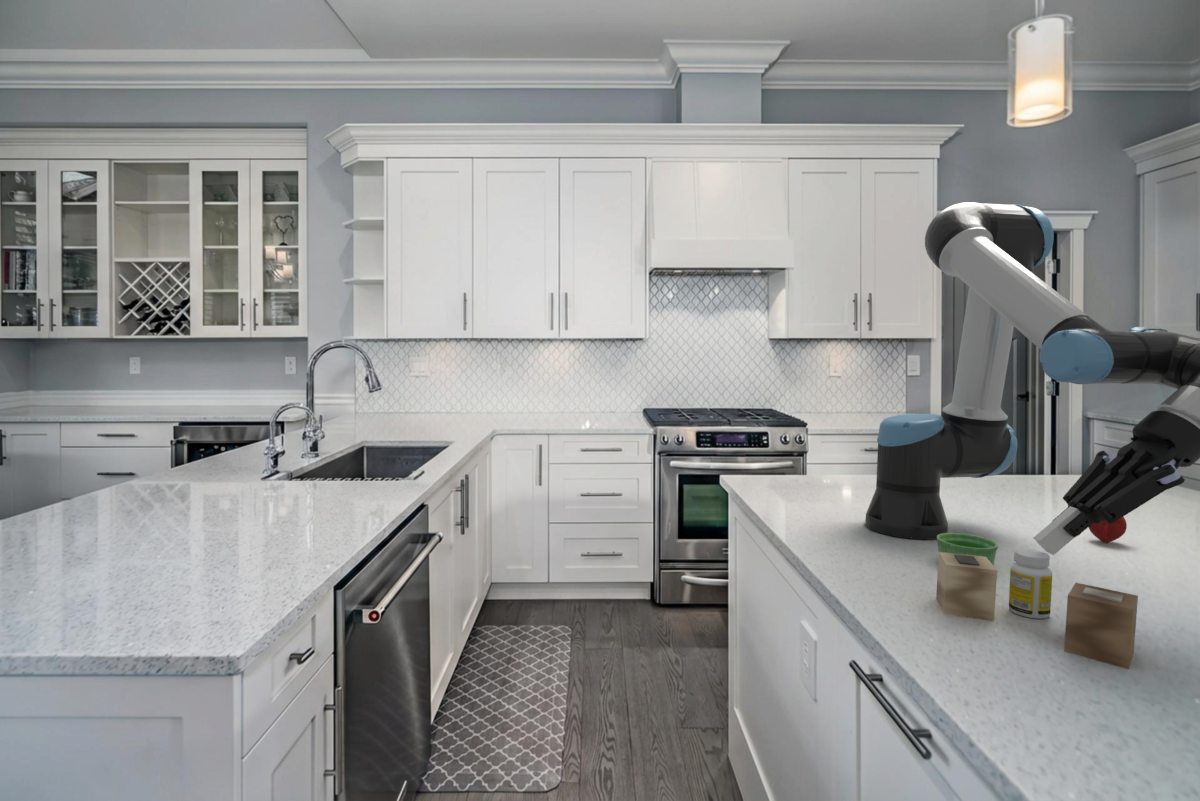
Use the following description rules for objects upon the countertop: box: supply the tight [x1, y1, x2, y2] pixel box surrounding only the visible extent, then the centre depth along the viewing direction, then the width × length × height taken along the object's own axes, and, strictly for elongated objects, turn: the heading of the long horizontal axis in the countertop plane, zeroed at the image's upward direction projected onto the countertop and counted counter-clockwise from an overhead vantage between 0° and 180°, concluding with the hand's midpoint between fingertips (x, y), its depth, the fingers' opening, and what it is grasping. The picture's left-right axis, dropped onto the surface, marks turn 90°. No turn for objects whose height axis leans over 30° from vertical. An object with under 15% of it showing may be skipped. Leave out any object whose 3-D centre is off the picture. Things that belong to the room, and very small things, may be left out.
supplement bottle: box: [1008, 548, 1053, 620], centre depth 87 cm, size 5×5×8 cm
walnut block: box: [1063, 582, 1139, 670], centre depth 75 cm, size 6×6×7 cm
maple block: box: [935, 552, 998, 622], centre depth 88 cm, size 6×6×7 cm
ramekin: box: [936, 532, 999, 567], centre depth 107 cm, size 9×9×4 cm
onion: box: [1088, 512, 1128, 544], centre depth 120 cm, size 6×6×8 cm
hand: (1043, 546), depth 86 cm, fingers closed
